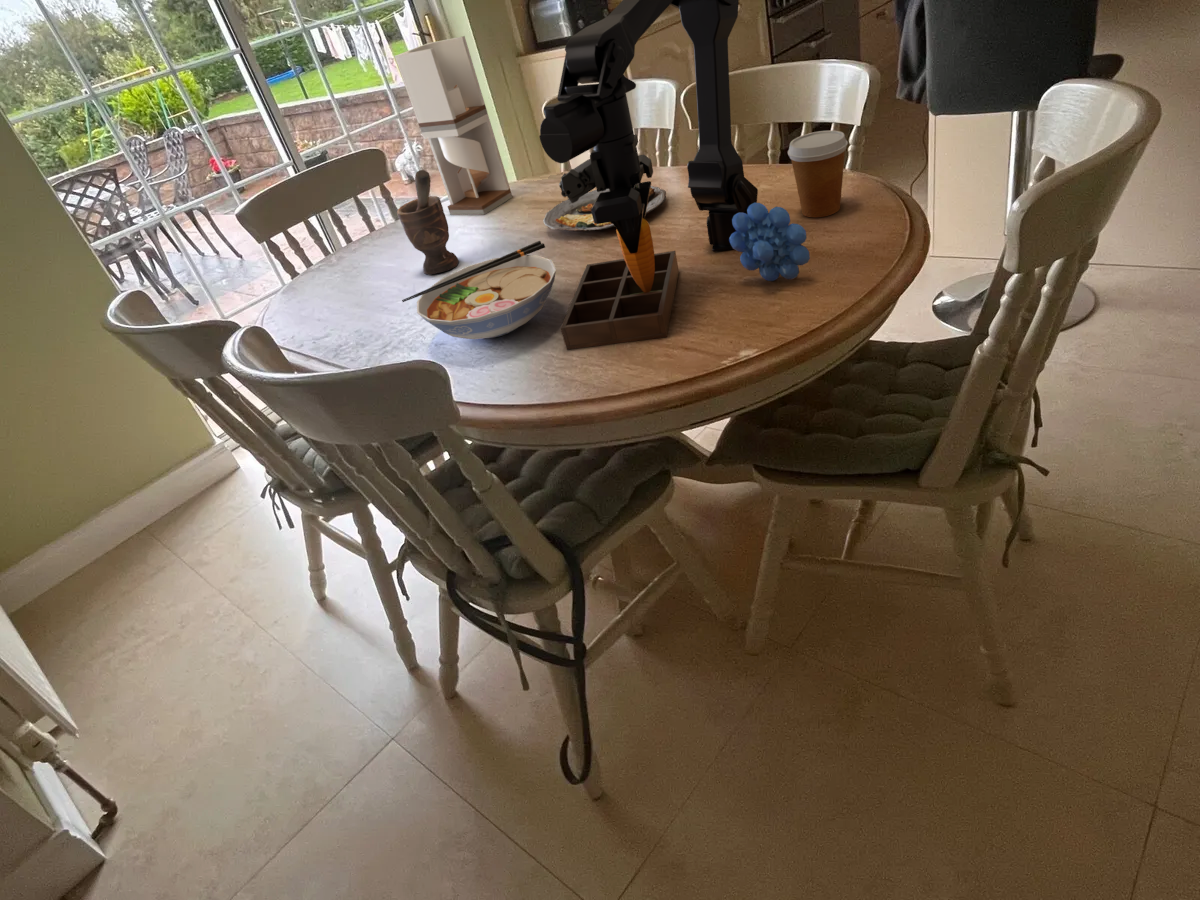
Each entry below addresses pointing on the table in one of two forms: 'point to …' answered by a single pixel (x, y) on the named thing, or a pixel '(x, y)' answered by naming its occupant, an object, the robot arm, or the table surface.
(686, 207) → the table surface
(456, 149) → the white wooden shelf
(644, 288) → the carrot
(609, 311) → the wooden compartment organizer
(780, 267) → the grapes
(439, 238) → the mortar and pestle
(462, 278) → the ramen bowl
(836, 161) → the disposable coffee cup
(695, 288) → the table surface
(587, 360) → the table surface
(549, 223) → the food plate
